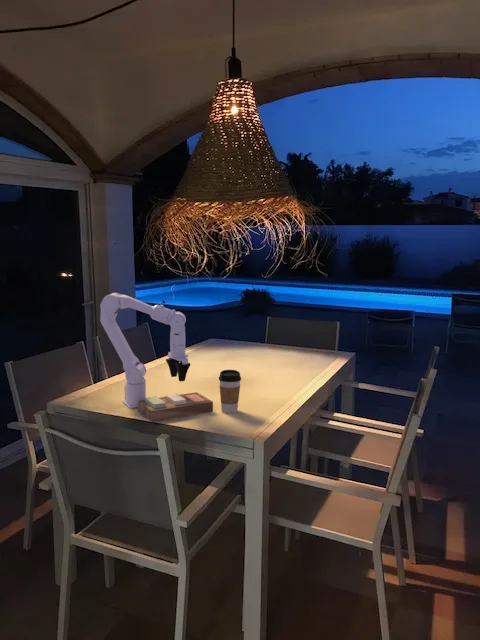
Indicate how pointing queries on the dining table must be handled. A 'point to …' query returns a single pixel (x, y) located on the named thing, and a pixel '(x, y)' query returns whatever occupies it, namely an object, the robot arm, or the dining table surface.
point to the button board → (175, 408)
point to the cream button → (175, 399)
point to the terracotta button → (195, 398)
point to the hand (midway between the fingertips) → (177, 378)
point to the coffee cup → (229, 390)
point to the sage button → (155, 402)
